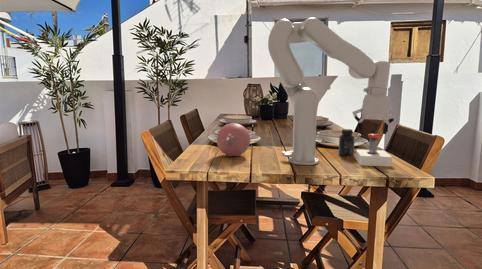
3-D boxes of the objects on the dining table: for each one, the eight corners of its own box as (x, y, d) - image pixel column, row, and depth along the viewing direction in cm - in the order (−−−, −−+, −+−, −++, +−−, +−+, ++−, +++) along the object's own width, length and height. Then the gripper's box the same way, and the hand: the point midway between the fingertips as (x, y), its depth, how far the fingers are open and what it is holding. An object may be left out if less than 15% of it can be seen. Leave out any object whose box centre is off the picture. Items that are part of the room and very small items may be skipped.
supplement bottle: (356, 154, 148) (357, 129, 146) (349, 157, 143) (351, 131, 141) (342, 152, 153) (343, 128, 151) (335, 155, 148) (337, 129, 146)
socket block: (360, 165, 130) (360, 155, 129) (355, 158, 142) (355, 149, 141) (391, 166, 128) (392, 157, 127) (383, 159, 140) (384, 150, 139)
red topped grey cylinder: (367, 163, 133) (369, 135, 131) (365, 160, 137) (367, 133, 135) (379, 163, 132) (381, 135, 130) (376, 161, 137) (378, 133, 135)
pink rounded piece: (208, 161, 137) (207, 126, 134) (223, 151, 156) (222, 120, 153) (242, 163, 132) (242, 127, 130) (253, 153, 151) (253, 121, 149)
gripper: (356, 91, 127) (352, 132, 130) (402, 93, 125) (396, 135, 128) (353, 90, 135) (349, 130, 138) (396, 92, 132) (391, 132, 135)
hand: (372, 132), depth 133 cm, fingers open, 9 cm apart
